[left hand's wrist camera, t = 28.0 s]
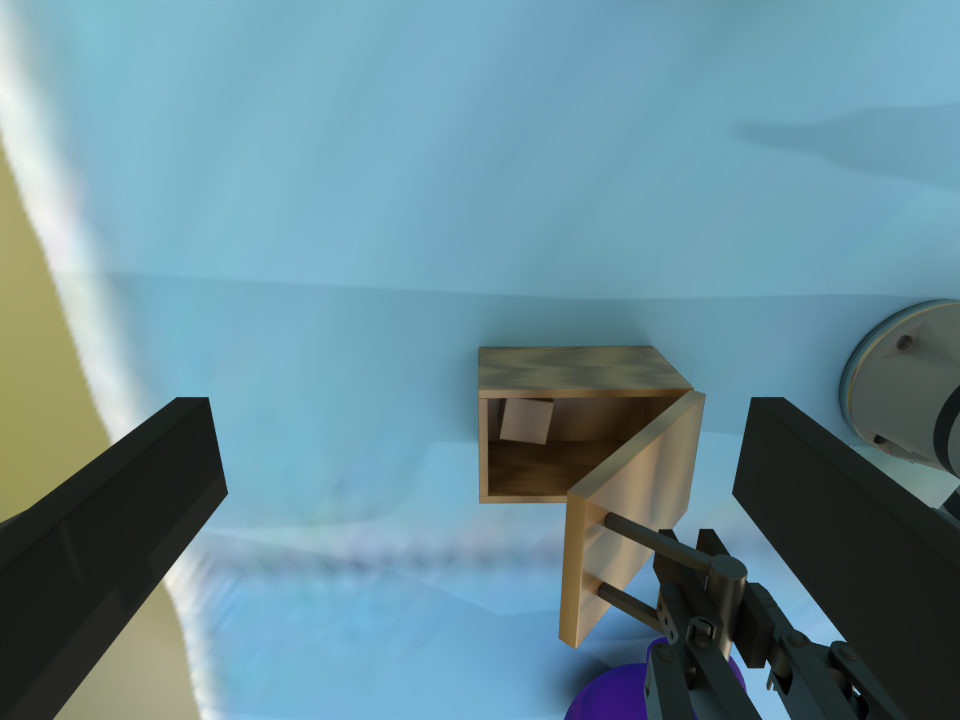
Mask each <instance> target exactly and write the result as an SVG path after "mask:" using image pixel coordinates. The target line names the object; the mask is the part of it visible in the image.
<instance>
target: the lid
mask: <svg viewBox="0 0 960 720" xmlns="http://www.w3.org/2000/svg"><path fill="white" fill-rule="evenodd" d="M705 396H706V394H704V393H700V392H696V391H692V390H689V391H688V392H687V393H686V394H685V395H683V396H682V397H681V398H680V399H678V400H677V401H676V402H675V403H674V404H672V405H671V406H670V407H669V408H668V409H666V410H665V411H664V412H663V413H662V414H660V415H659V416H658V417H657V418H655V419H654V420H653V421H652V422H651V423H649V424H648V425H647V426H646V427H645V428H643V429H642V430H641V431H640V432H638V433H637V434H636V435H635V436H634V437H632V438H631V439H630V440H629V441H628V442H626V443H625V444H624V445H623V446H621V447H620V448H619V449H618V450H617V451H615V452H614V453H613V454H612V455H611V456H609V457H608V458H607V459H606V460H604V461H603V462H602V463H601V464H600V465H598V466H597V467H596V468H595V469H594V470H592V471H591V472H590V473H589V474H588V475H586V476H585V477H584V478H583V479H581V480H580V481H579V482H578V483H577V484H575V485H574V486H573V487H572V488H571V489H569V490H568V491H567V506H566V523H565V539H564V556H563V572H562V589H561V606H560V622H559V639H560V640H561V641H563V642H564V643H566V644H568V645H569V646H571V647H572V648H574V649H577V647H578V646H579V645H580V644H581V642H582V641H583V640H584V639H585V637H586V636H587V635H588V634H589V632H590V631H591V630H592V629H593V627H594V626H595V625H596V624H597V622H598V621H599V620H600V619H601V617H602V616H603V615H604V614H605V612H606V611H607V610H608V609H609V607H610V606H611V605H613V606H615V607H617V608H619V609H620V610H622V611H624V612H626V613H627V614H629V615H631V616H633V617H634V618H636V619H638V620H640V621H641V622H643V623H645V624H646V625H648V626H650V627H652V628H653V629H655V630H657V631H659V632H660V633H662V634H664V635H665V632H664V630H663V627H662V625H661V622H660V620H659V618H658V615H657V613H656V612H657V610H656V609H654V608H652V607H650V606H648V605H647V604H645V603H643V602H641V601H639V600H637V599H636V598H634V597H632V596H630V595H628V594H627V593H625V592H623V590H624V588H625V587H626V586H627V585H628V583H629V582H630V581H631V580H632V578H633V577H634V576H635V575H636V573H637V572H638V571H639V570H640V568H641V567H642V566H643V565H644V563H645V562H646V561H647V560H648V558H649V557H650V556H651V555H652V553H653V552H654V551H656V552H658V553H660V554H662V555H664V556H666V557H669V558H671V559H673V560H675V561H677V562H679V563H681V564H683V565H685V566H688V567H690V568H692V569H694V570H696V571H698V572H700V573H702V574H704V575H706V576H707V579H706V585H705V591H706V593H707V595H708V596H709V598H710V600H711V602H712V603H713V605H714V607H715V609H716V611H717V613H718V614H719V616H720V618H721V620H722V622H723V624H724V628H723V632H722V636H721V641H720V645H719V649H720V650H721V652H722V654H723V655H724V657H725V659H726V660H727V662H728V660H729V656H730V651H731V647H732V642H733V638H734V633H735V628H736V624H737V619H738V615H739V610H740V606H741V601H742V597H743V592H744V587H745V583H746V578H747V569H746V567H745V565H744V564H743V563H742V562H741V561H739V560H738V559H736V558H734V557H732V556H728V555H716V556H714V557H711V556H709V555H707V554H704V553H702V552H700V551H698V550H696V549H693V548H691V547H689V546H687V545H684V544H682V543H680V542H678V541H676V540H673V539H671V538H669V537H667V536H664V535H662V534H660V533H658V530H659V529H672V528H673V527H674V526H675V525H676V523H677V522H678V521H679V520H680V518H681V517H682V516H683V515H684V513H685V512H686V511H687V509H688V503H689V497H690V490H691V484H692V478H693V472H694V465H695V459H696V453H697V446H698V440H699V434H700V428H701V421H702V415H703V409H704V402H705Z"/></svg>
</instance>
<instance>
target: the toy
mask: <svg viewBox="0 0 960 720" xmlns="http://www.w3.org/2000/svg"><path fill="white" fill-rule="evenodd" d="M657 642H664V643H668V644H669V642H668V640H667V637H662V638H659V639H656V640H654V641H653V642H652V643H651V644H650V645H649V647H648V650H647V662H646V663H637V664H628V665H623V666H619V667H616V668H613V669H611V670H609V671H606V672H604V673H603V674H601V675H600V676H598V677H597V678H595V679H594V680H593V681H591V682H590V683H589V684H588V685H586V686H585V687H584V688H583V689H582V690H581V691H580V692H579V694H578V695H577V696H576V697H575V699H574V700H573V702H572V703H571V705H570V707H569V709H568V711H567V713H566V716H565V718H564V720H648V716H647V709H646V703H645V697H644V685H645V679H646V673H647V667H648V661H649V655H650V649H651V647H652V645H653V644H655V643H657ZM728 664H729V665H730V667H731V669H732V670H733V672H734V674H735V675H736V677H737V678H738V680H739V682H740V683H741V685H742V687H743V688H744V690H745V692H746V686H745V683H744V678H743V676H742V674H741V672H740V670H739V668H738V666H737V664H736V663H735V661H734V660H733V658H732V657H731V656H729V660H728ZM692 708H693V707H692ZM693 713H694V717H695V720H698V717H697V715H696V713H695V711H694V709H693Z"/></svg>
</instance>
